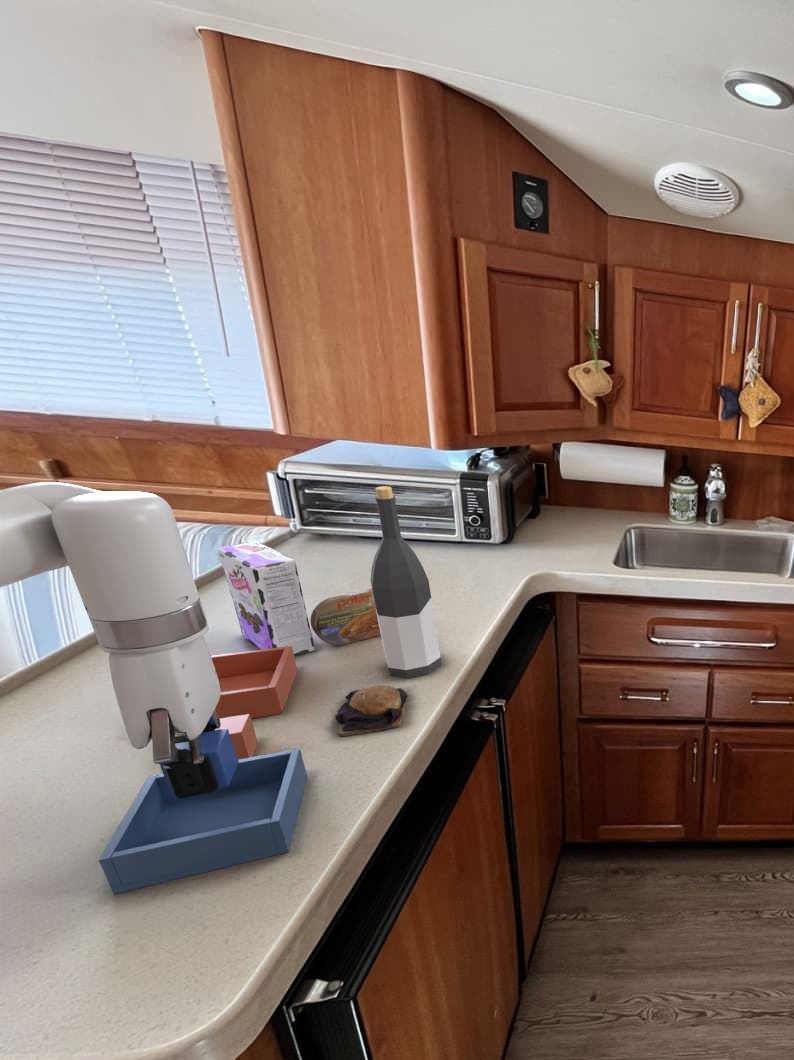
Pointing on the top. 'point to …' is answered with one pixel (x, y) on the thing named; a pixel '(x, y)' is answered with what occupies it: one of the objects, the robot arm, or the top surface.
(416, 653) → the wine bottle
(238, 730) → the terracotta block
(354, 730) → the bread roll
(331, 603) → the tin
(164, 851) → the blue bin
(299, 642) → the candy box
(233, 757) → the blue block
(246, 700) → the terracotta bin
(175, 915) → the top surface
